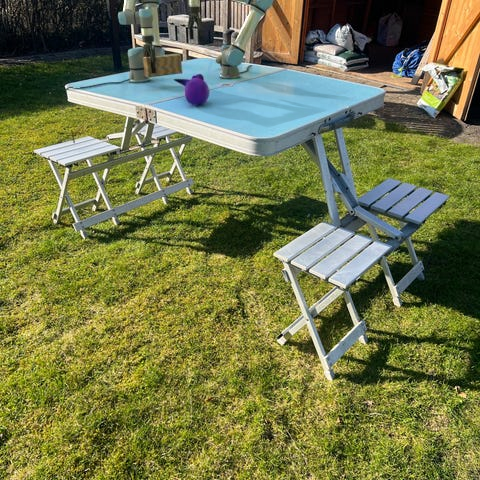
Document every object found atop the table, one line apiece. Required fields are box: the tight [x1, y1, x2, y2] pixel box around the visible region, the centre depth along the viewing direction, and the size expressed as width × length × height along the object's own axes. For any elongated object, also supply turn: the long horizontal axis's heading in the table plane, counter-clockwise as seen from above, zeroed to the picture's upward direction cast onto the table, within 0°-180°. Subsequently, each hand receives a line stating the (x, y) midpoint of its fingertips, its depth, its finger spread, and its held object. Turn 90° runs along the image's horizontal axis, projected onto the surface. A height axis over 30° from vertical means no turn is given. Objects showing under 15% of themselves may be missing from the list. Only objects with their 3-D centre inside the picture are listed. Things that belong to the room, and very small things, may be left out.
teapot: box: [215, 55, 222, 68], centre depth 374 cm, size 21×12×15 cm, turn 120°
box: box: [143, 53, 183, 79], centre depth 307 cm, size 25×7×12 cm, turn 122°
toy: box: [173, 73, 210, 107], centre depth 272 cm, size 16×18×27 cm
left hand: (151, 72), depth 305 cm, fingers closed on box, 7 cm apart
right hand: (196, 40), depth 315 cm, fingers open, 13 cm apart
